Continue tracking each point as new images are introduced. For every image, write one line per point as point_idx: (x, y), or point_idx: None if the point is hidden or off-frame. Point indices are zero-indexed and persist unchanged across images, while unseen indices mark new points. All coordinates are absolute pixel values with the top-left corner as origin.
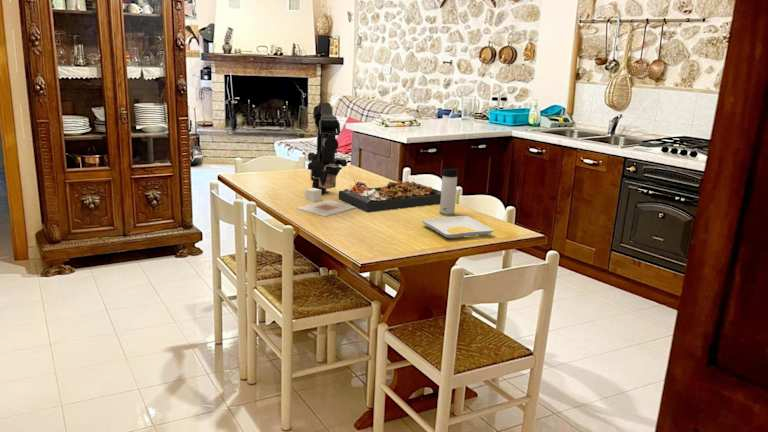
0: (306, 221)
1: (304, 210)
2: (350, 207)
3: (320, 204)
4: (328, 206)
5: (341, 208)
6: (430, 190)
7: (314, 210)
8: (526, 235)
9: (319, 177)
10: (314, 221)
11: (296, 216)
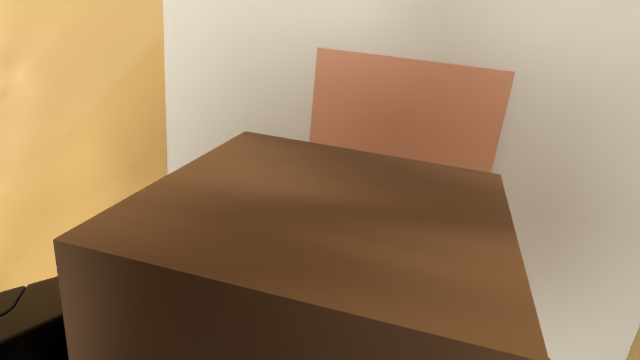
0: (6, 217)
1: (166, 31)
2: (552, 347)
3: (472, 17)
4: (436, 153)
5: None
6: None
7: (217, 121)
8: None
9: (12, 299)
10: (45, 260)
11: (24, 81)
